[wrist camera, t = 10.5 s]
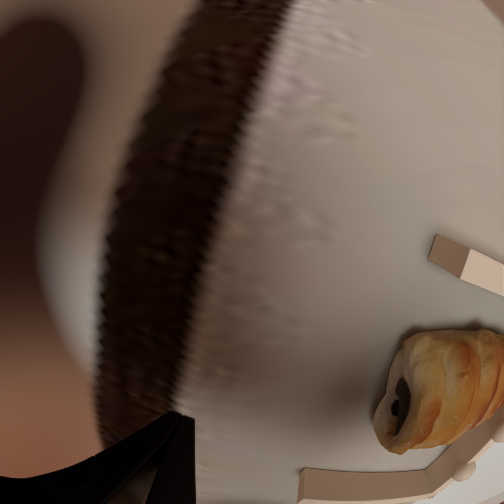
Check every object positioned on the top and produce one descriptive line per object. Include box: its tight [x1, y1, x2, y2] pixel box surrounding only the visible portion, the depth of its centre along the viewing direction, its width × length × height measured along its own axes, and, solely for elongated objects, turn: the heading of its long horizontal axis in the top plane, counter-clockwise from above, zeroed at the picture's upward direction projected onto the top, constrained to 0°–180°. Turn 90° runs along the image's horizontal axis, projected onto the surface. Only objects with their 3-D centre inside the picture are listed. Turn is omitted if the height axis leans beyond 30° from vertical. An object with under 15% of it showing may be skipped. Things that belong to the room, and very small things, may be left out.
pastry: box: [373, 328, 504, 455], centre depth 8 cm, size 9×7×4 cm
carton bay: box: [297, 235, 504, 504], centre depth 9 cm, size 16×11×3 cm
